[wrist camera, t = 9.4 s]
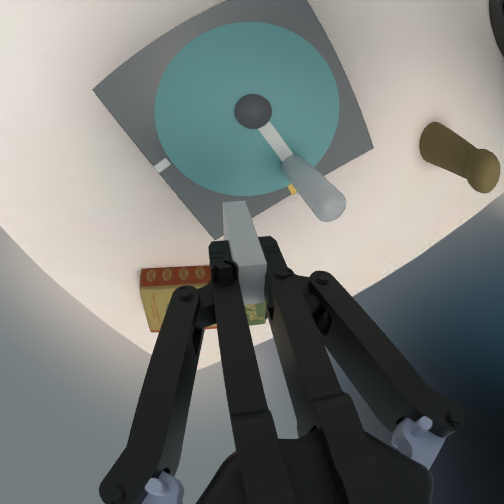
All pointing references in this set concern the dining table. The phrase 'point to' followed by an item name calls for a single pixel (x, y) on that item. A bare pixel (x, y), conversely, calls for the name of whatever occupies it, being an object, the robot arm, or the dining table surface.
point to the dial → (251, 114)
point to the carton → (169, 279)
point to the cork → (459, 157)
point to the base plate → (159, 57)
